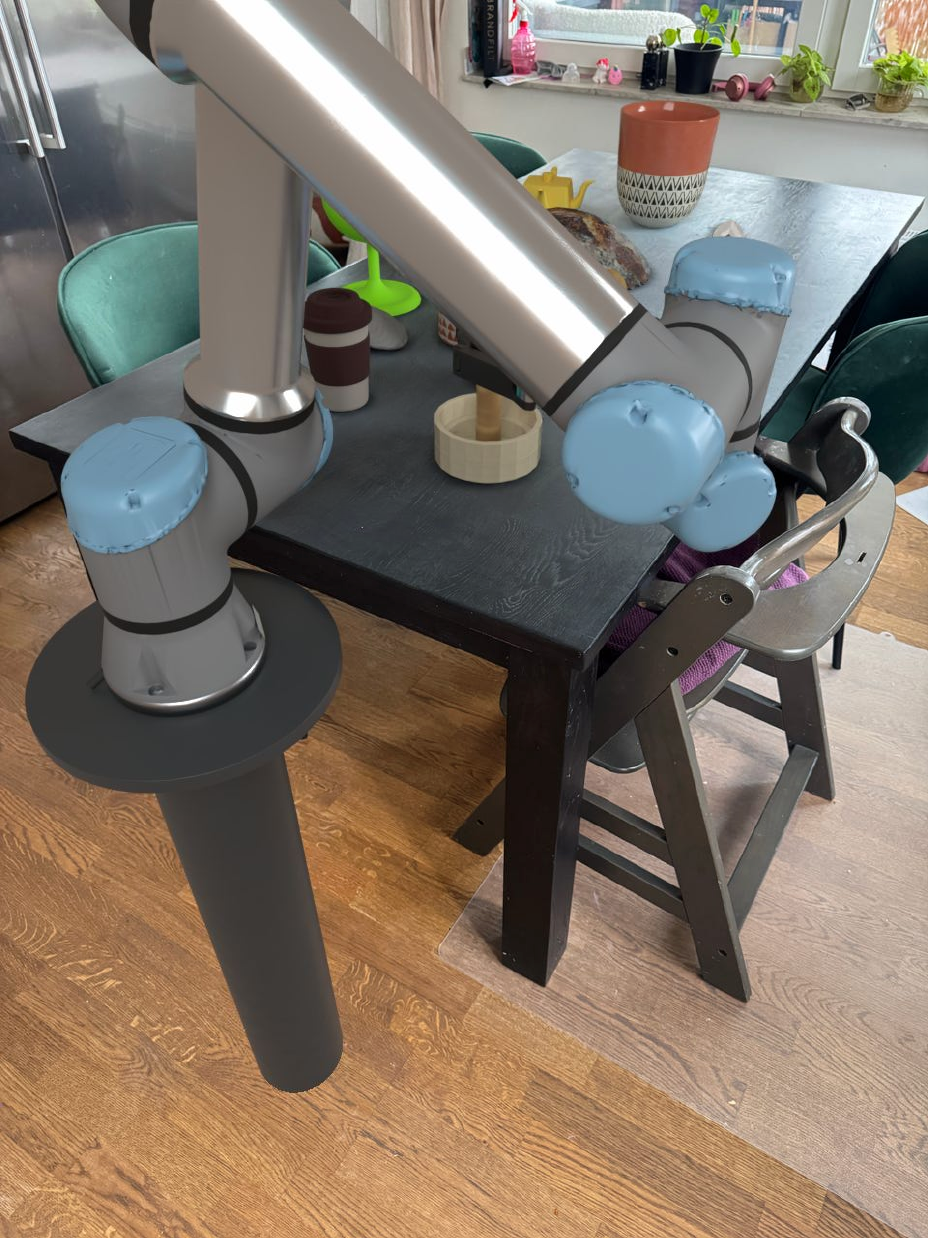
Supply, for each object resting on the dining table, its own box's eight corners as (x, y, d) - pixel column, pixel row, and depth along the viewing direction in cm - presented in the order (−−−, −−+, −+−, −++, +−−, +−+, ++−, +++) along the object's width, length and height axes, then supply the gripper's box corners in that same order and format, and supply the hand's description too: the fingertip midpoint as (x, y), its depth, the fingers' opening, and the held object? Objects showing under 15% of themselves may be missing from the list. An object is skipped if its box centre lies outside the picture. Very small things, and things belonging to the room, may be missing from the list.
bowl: (479, 499, 103) (480, 455, 100) (414, 454, 111) (412, 412, 107) (560, 463, 110) (564, 421, 106) (493, 423, 118) (494, 382, 114)
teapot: (592, 224, 184) (596, 175, 177) (539, 236, 178) (541, 185, 172) (551, 207, 193) (554, 160, 187) (499, 218, 187) (500, 169, 181)
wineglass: (341, 322, 144) (330, 207, 132) (321, 289, 155) (310, 181, 143) (432, 311, 148) (430, 198, 136) (407, 279, 159) (402, 173, 147)
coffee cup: (350, 424, 117) (340, 316, 108) (294, 407, 121) (279, 301, 111) (391, 395, 124) (385, 291, 114) (336, 379, 128) (325, 277, 118)
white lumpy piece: (706, 262, 166) (706, 258, 165) (717, 219, 186) (717, 216, 185) (737, 265, 164) (738, 261, 164) (745, 222, 185) (746, 218, 184)
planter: (602, 234, 179) (614, 117, 165) (615, 207, 193) (627, 98, 179) (697, 242, 175) (718, 123, 161) (703, 214, 189) (722, 103, 175)
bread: (507, 237, 177) (508, 184, 171) (663, 256, 168) (671, 202, 162) (458, 281, 158) (458, 224, 152) (632, 306, 149) (640, 246, 143)
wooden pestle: (485, 467, 108) (488, 327, 96) (463, 453, 110) (464, 315, 99) (512, 456, 110) (518, 318, 98) (490, 442, 113) (493, 306, 101)
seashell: (327, 343, 137) (363, 354, 131) (325, 306, 135) (362, 316, 128) (385, 336, 144) (422, 346, 138) (385, 300, 142) (423, 309, 135)
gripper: (480, 479, 68) (403, 367, 83) (750, 430, 74) (634, 334, 89) (482, 391, 63) (400, 289, 78) (771, 346, 69) (644, 260, 84)
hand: (525, 313), depth 84 cm, fingers open, 13 cm apart
